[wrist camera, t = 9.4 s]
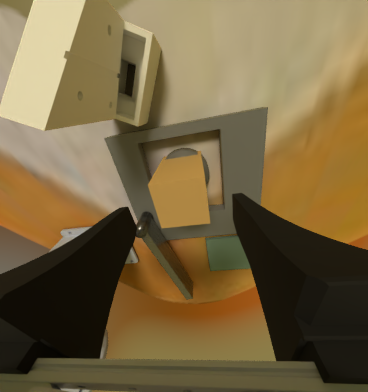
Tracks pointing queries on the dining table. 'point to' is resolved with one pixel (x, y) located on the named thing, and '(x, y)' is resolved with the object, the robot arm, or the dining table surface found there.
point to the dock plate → (230, 166)
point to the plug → (181, 189)
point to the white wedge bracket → (80, 67)
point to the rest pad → (226, 253)
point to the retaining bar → (164, 253)
